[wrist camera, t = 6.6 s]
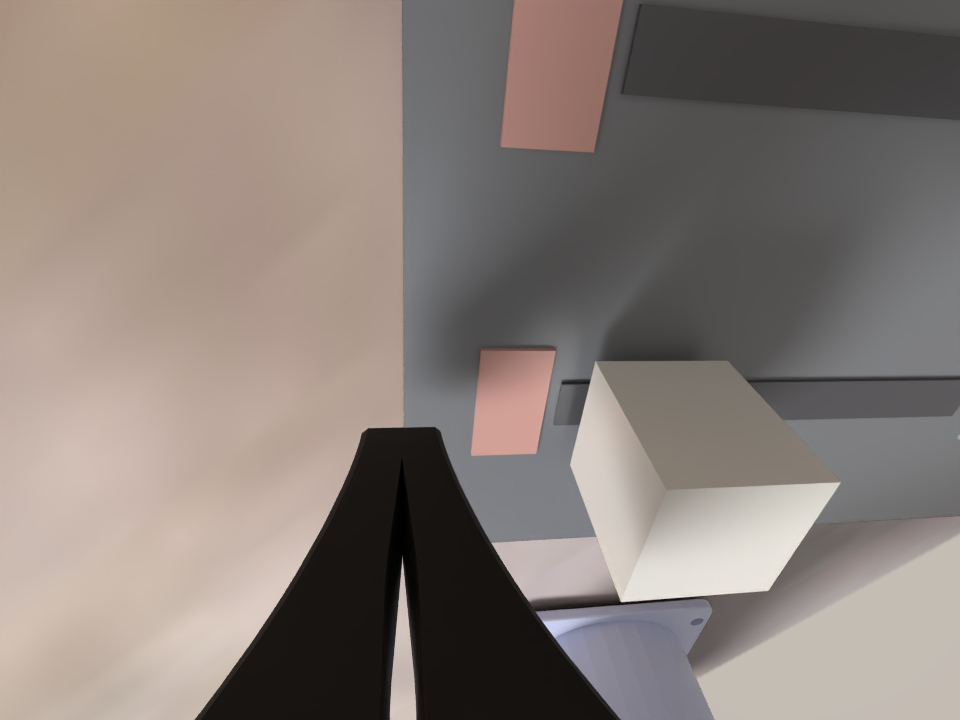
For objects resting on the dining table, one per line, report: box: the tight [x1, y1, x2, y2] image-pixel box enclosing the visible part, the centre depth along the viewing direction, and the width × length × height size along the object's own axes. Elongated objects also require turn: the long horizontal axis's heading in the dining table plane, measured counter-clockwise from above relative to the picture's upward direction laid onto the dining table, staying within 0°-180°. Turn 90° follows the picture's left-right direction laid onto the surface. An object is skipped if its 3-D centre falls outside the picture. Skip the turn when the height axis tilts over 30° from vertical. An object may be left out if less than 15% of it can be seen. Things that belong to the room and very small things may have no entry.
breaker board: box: [402, 0, 960, 543], centre depth 12 cm, size 16×18×2 cm
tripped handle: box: [570, 361, 841, 602], centre depth 10 cm, size 3×3×4 cm
